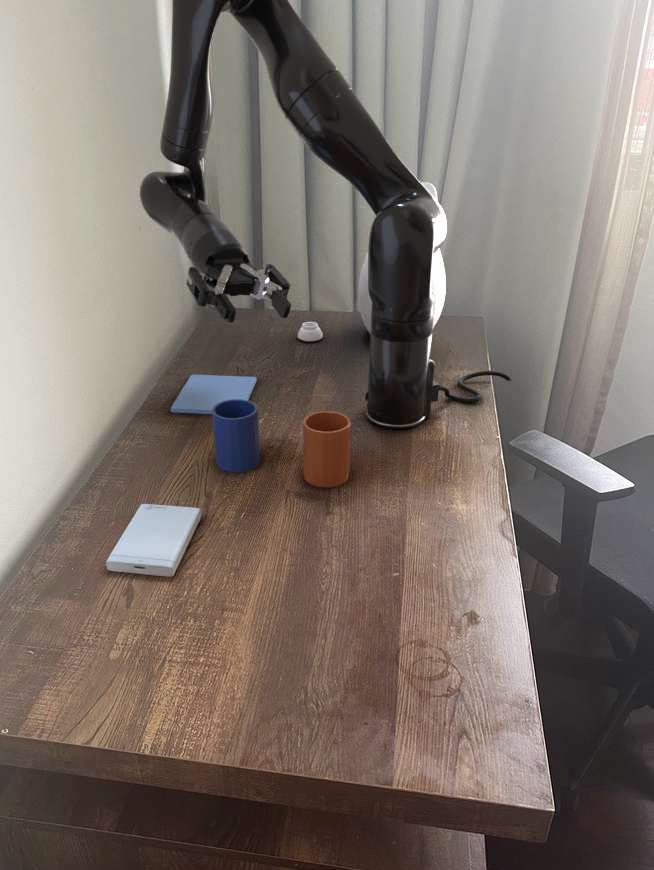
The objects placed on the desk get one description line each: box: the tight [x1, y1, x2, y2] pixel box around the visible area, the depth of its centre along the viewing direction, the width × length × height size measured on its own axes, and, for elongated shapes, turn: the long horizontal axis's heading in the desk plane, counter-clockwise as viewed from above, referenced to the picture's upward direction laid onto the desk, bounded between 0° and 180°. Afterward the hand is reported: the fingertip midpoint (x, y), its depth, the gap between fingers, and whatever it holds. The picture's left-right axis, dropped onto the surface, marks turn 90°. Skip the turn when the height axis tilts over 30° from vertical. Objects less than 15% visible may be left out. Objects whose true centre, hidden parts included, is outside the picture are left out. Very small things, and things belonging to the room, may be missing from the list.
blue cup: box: [211, 399, 261, 473], centre depth 106 cm, size 6×6×8 cm
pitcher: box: [357, 181, 447, 334], centre depth 139 cm, size 24×17×28 cm
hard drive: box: [105, 503, 202, 578], centre depth 91 cm, size 2×8×12 cm
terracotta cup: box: [302, 410, 352, 488], centre depth 102 cm, size 6×6×8 cm
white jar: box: [297, 321, 323, 342], centre depth 149 cm, size 5×3×5 cm
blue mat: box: [169, 374, 258, 415], centre depth 127 cm, size 14×12×1 cm
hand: (260, 314), depth 102 cm, fingers open, 8 cm apart
